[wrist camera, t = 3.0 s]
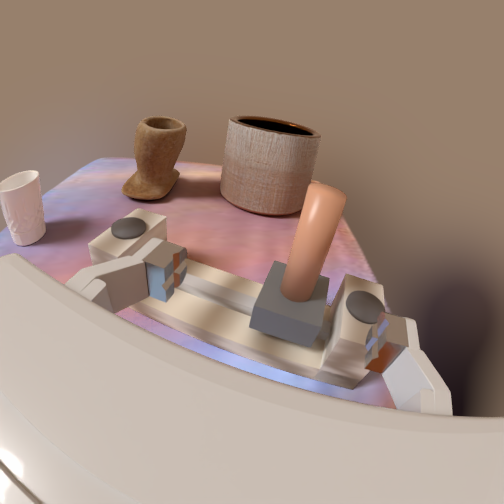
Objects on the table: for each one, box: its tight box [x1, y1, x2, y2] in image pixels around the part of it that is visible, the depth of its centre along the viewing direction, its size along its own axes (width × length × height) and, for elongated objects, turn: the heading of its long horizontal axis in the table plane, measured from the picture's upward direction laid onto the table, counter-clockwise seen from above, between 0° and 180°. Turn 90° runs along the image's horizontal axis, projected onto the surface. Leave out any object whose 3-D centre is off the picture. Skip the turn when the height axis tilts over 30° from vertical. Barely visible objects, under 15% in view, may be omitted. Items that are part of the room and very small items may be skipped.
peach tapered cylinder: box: [249, 183, 347, 348], centre depth 24 cm, size 6×7×14 cm
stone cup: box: [122, 116, 187, 200], centre depth 49 cm, size 15×12×15 cm
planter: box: [220, 116, 321, 216], centre depth 52 cm, size 18×18×16 cm
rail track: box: [88, 208, 385, 390], centre depth 28 cm, size 30×9×7 cm, turn 72°
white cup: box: [0, 170, 46, 246], centre depth 32 cm, size 8×8×10 cm
